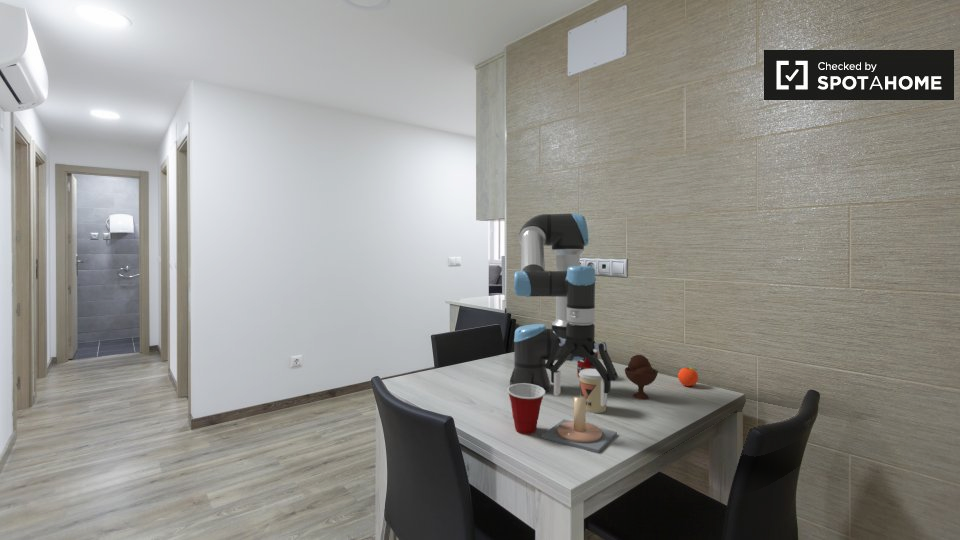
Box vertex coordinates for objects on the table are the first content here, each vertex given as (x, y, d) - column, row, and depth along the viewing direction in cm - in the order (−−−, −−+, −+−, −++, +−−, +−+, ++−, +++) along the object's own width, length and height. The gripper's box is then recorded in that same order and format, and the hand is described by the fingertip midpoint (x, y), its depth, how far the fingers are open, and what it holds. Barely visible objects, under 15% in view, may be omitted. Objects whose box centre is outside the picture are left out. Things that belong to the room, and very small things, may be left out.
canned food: (576, 374, 186) (576, 347, 185) (596, 374, 185) (596, 348, 184) (577, 379, 178) (578, 351, 178) (598, 380, 177) (598, 352, 177)
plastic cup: (518, 441, 120) (518, 396, 119) (500, 426, 130) (500, 385, 129) (552, 434, 124) (553, 391, 124) (533, 420, 134) (533, 381, 134)
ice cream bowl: (660, 402, 150) (661, 358, 149) (626, 400, 152) (626, 357, 152) (654, 393, 160) (655, 351, 160) (622, 391, 163) (623, 350, 162)
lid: (549, 435, 121) (550, 399, 121) (568, 421, 131) (568, 388, 131) (592, 446, 114) (592, 408, 114) (608, 431, 124) (608, 395, 124)
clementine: (690, 382, 174) (690, 364, 174) (704, 387, 167) (704, 368, 167) (673, 384, 171) (674, 365, 171) (687, 389, 165) (687, 370, 164)
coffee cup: (573, 406, 147) (573, 370, 146) (596, 402, 151) (596, 367, 150) (590, 415, 138) (591, 377, 138) (614, 411, 142) (615, 374, 142)
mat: (541, 437, 122) (541, 434, 122) (563, 421, 133) (563, 419, 133) (598, 453, 112) (598, 450, 112) (616, 434, 124) (616, 431, 124)
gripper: (533, 320, 126) (533, 394, 127) (621, 330, 111) (620, 413, 113) (545, 316, 132) (545, 387, 133) (630, 325, 117) (629, 404, 119)
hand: (579, 399), depth 123 cm, fingers open, 13 cm apart
